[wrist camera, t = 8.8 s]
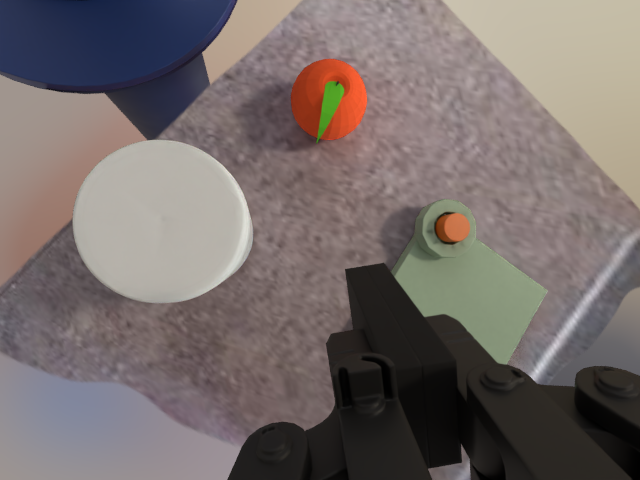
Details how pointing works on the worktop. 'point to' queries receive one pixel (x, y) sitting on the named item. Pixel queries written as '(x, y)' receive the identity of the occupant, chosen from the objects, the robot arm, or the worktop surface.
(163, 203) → the supplement tub
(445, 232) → the tare button
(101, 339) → the worktop surface
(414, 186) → the worktop surface
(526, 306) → the scale
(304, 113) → the clementine
